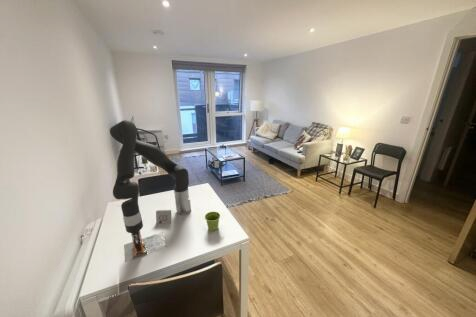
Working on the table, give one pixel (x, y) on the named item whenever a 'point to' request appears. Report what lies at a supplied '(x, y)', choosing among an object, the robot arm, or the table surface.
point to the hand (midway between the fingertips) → (139, 247)
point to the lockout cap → (141, 246)
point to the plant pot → (212, 220)
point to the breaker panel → (145, 246)
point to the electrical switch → (163, 216)
